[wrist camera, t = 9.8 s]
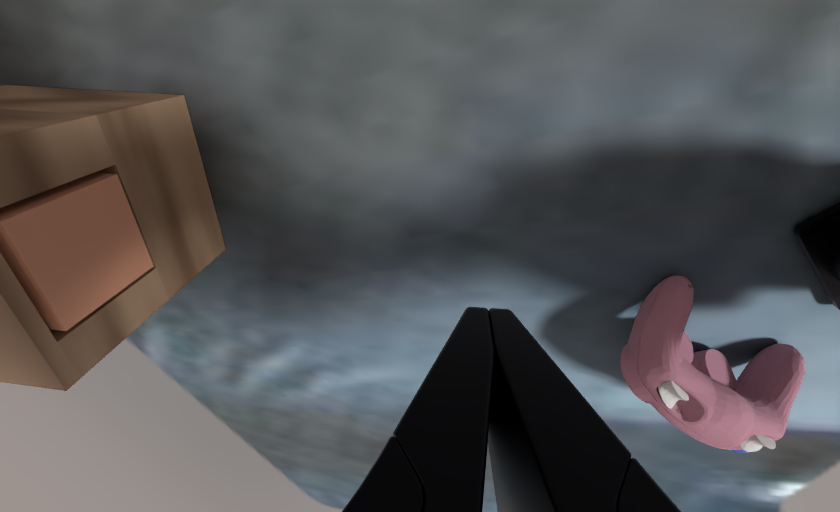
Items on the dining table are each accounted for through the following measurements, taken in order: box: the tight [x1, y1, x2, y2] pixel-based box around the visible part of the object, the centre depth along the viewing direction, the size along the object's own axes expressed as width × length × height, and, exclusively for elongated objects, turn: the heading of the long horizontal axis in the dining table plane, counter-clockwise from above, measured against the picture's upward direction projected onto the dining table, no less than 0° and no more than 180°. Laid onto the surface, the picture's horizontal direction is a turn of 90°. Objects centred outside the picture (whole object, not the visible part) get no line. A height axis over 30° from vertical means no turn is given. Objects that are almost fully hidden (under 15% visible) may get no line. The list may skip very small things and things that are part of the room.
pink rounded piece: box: [620, 275, 805, 452], centre depth 21 cm, size 10×5×7 cm, turn 60°
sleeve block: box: [0, 85, 226, 391], centre depth 17 cm, size 10×9×11 cm
